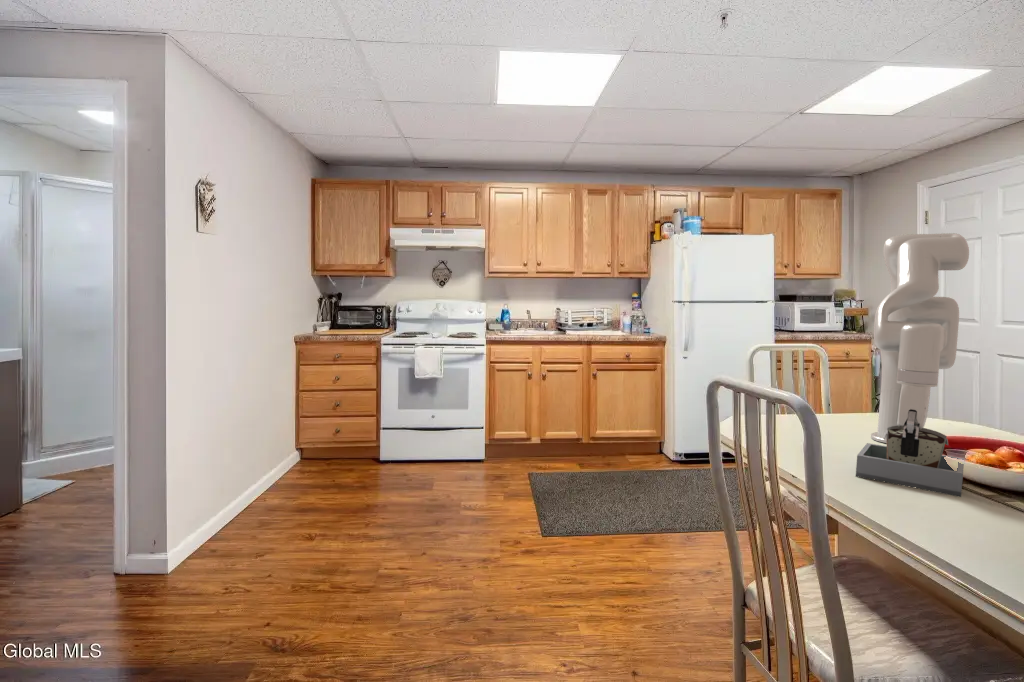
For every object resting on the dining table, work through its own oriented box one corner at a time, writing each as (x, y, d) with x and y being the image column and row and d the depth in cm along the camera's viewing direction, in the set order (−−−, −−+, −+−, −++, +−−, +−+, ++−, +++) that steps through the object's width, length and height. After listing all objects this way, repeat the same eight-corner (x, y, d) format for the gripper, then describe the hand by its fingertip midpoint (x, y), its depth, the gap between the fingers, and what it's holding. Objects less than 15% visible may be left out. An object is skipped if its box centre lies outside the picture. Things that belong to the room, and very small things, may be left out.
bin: (865, 462, 139) (867, 443, 138) (962, 479, 127) (964, 458, 126) (855, 476, 127) (857, 455, 127) (960, 496, 115) (963, 473, 115)
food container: (933, 467, 130) (938, 427, 128) (943, 478, 124) (949, 436, 122) (873, 461, 134) (877, 422, 132) (880, 471, 128) (885, 430, 126)
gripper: (901, 372, 134) (895, 441, 136) (892, 380, 121) (886, 455, 122) (939, 376, 129) (933, 447, 131) (935, 384, 116) (928, 463, 118)
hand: (911, 451), depth 127 cm, fingers open, 9 cm apart
